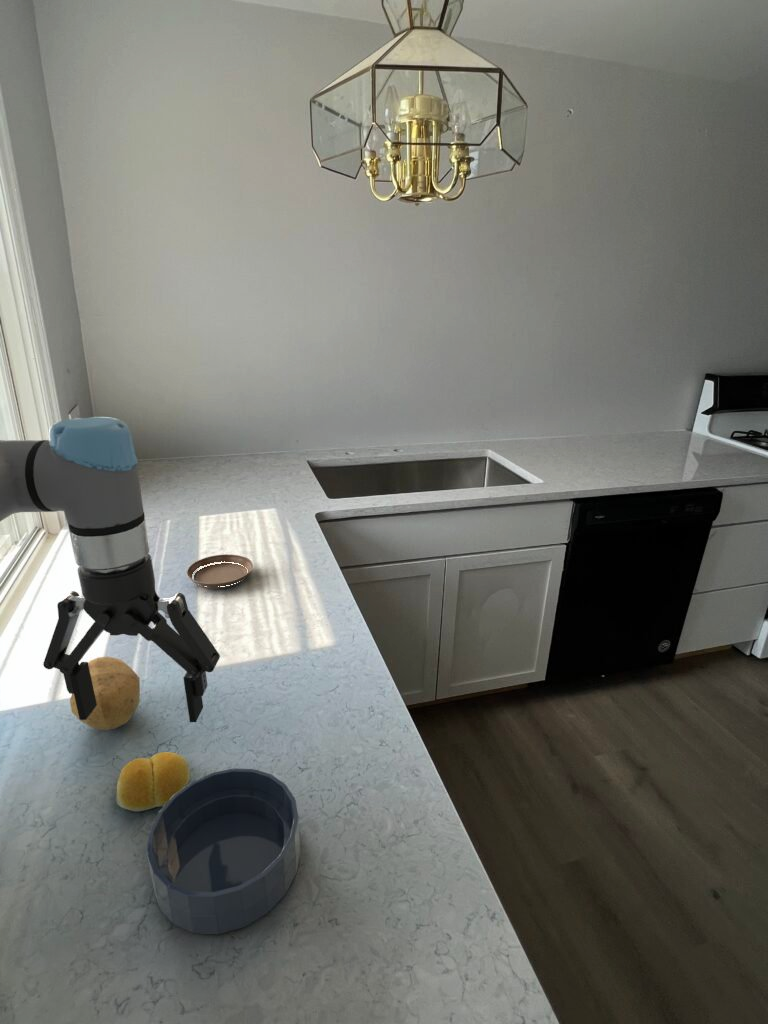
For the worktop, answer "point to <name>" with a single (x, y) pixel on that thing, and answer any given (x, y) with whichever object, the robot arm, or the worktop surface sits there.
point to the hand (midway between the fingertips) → (142, 713)
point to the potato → (111, 693)
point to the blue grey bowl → (224, 850)
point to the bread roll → (151, 781)
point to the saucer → (220, 571)
